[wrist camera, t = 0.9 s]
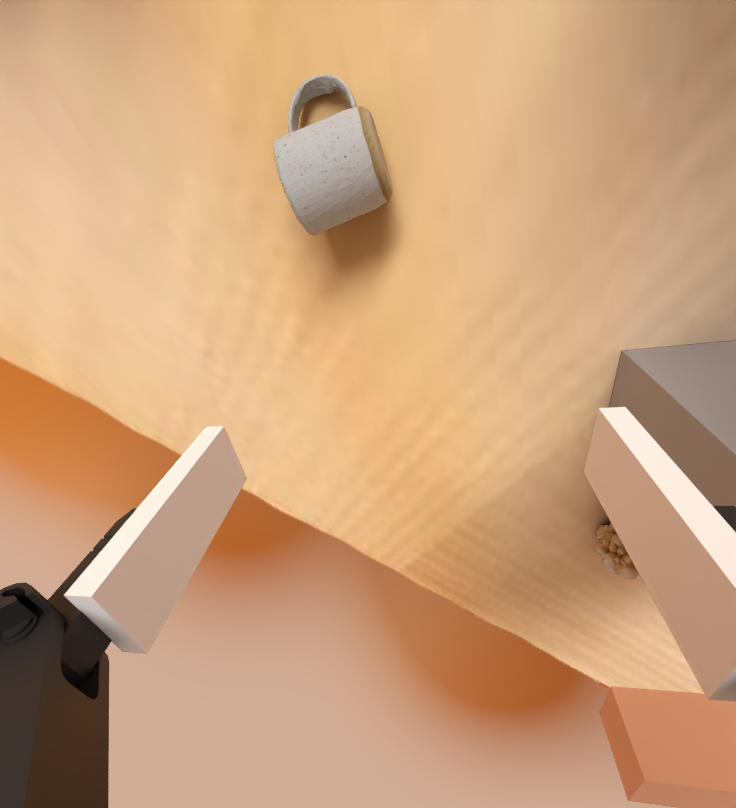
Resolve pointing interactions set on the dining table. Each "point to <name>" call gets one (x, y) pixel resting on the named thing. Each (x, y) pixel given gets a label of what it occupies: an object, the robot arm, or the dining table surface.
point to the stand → (687, 409)
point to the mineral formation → (614, 552)
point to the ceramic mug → (331, 161)
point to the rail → (673, 747)
